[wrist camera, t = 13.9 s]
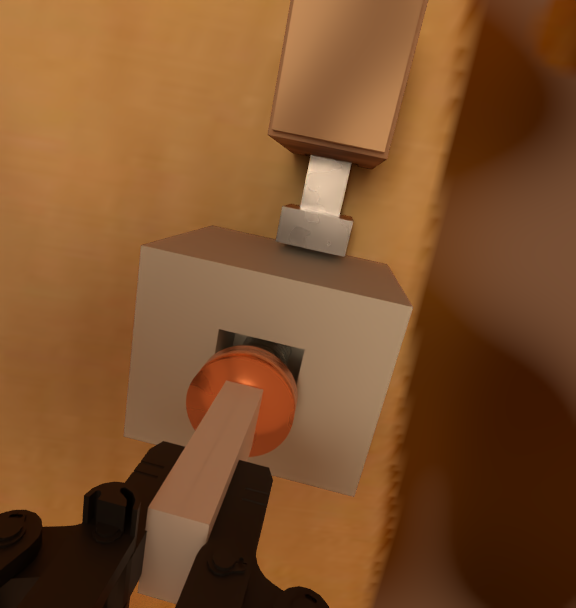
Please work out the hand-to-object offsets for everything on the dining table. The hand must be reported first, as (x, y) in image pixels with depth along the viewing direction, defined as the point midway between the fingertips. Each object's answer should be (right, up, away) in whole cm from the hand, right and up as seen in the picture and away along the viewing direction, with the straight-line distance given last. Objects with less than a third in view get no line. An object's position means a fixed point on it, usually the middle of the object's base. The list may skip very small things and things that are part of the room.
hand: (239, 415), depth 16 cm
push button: (+1, +2, +6) cm, 7 cm away
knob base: (+2, +4, +12) cm, 13 cm away
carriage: (+5, +17, +8) cm, 19 cm away
